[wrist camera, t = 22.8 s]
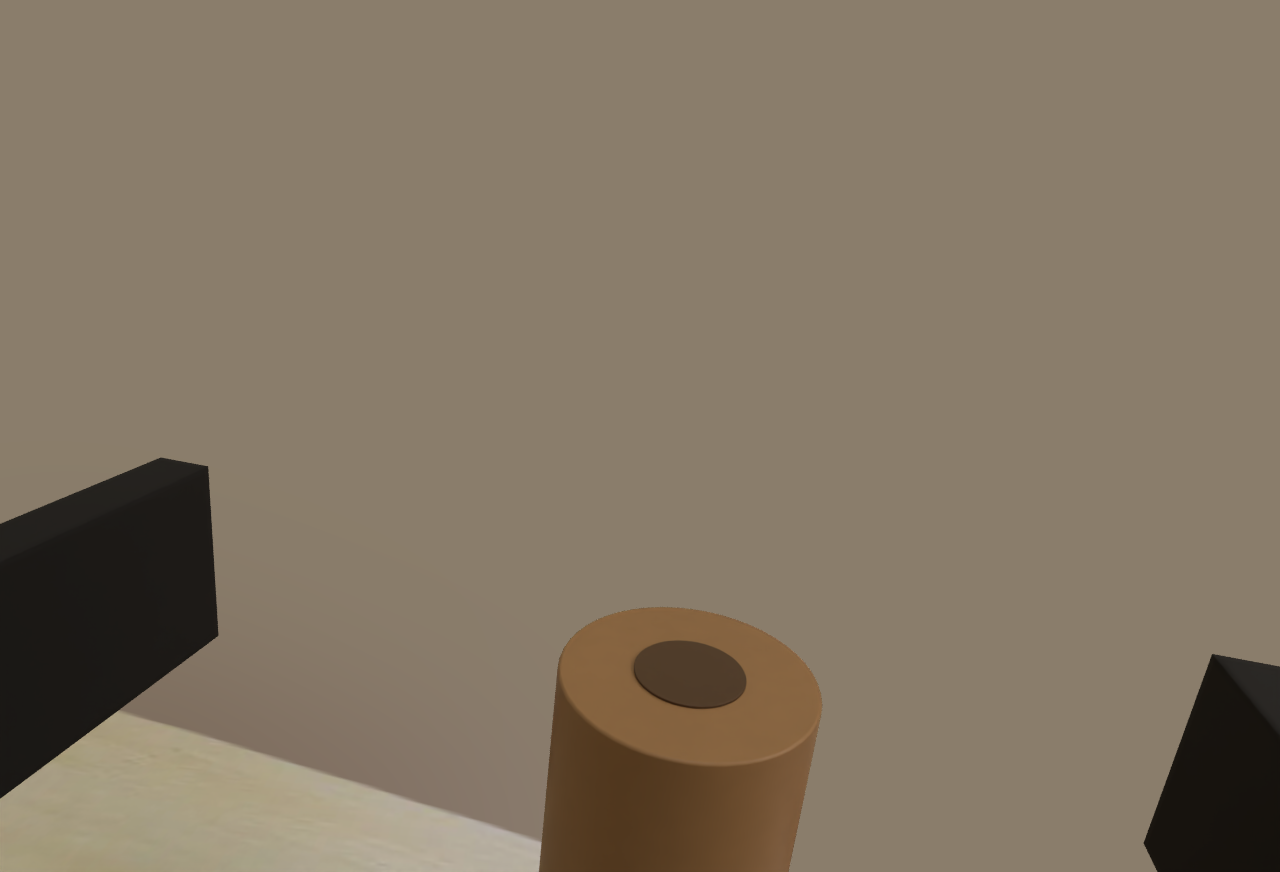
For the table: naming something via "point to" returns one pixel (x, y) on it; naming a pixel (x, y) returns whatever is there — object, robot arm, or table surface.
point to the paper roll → (677, 746)
